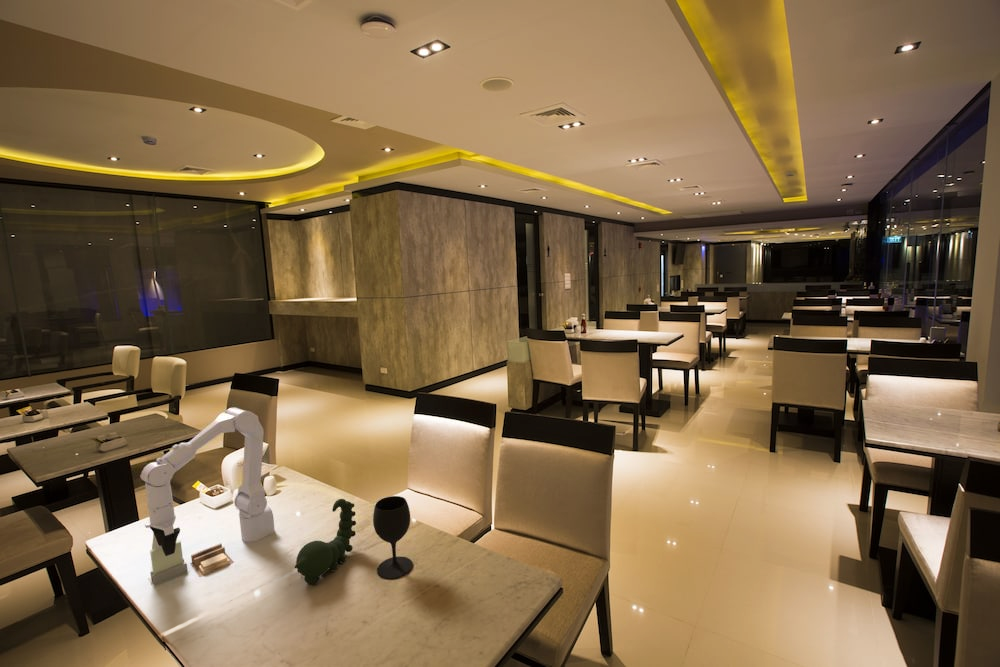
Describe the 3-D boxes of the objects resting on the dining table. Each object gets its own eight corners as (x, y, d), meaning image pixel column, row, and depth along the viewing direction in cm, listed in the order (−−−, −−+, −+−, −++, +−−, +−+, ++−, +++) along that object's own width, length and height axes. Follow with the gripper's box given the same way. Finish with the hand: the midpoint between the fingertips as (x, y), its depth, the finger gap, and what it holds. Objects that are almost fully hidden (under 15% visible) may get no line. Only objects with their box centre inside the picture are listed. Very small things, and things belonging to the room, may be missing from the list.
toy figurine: (338, 550, 147) (280, 595, 123) (337, 491, 147) (279, 525, 123) (364, 554, 145) (310, 600, 121) (363, 494, 144) (309, 529, 120)
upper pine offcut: (223, 556, 140) (223, 552, 140) (227, 560, 138) (227, 557, 138) (200, 565, 136) (200, 562, 136) (204, 570, 134) (204, 567, 133)
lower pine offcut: (225, 558, 141) (225, 555, 141) (229, 563, 138) (229, 560, 138) (199, 569, 136) (198, 565, 136) (203, 574, 133) (202, 571, 133)
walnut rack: (223, 552, 145) (222, 542, 145) (234, 564, 139) (233, 554, 138) (190, 565, 139) (188, 555, 139) (199, 579, 132) (198, 568, 132)
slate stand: (185, 566, 139) (184, 555, 138) (190, 574, 135) (189, 563, 134) (148, 581, 132) (147, 570, 132) (153, 590, 128) (151, 579, 128)
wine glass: (420, 562, 137) (416, 498, 135) (398, 583, 128) (394, 515, 125) (391, 554, 141) (387, 492, 139) (369, 574, 132) (364, 508, 130)
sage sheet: (182, 568, 136) (179, 539, 135) (184, 570, 135) (180, 541, 134) (153, 580, 131) (150, 550, 130) (155, 582, 130) (151, 552, 129)
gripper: (137, 501, 133) (144, 546, 135) (148, 518, 123) (155, 565, 125) (167, 493, 138) (172, 535, 140) (180, 508, 128) (185, 553, 130)
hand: (166, 549), depth 133 cm, fingers open, 7 cm apart
